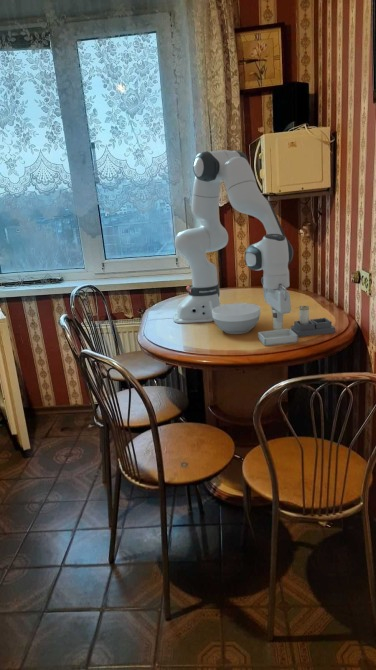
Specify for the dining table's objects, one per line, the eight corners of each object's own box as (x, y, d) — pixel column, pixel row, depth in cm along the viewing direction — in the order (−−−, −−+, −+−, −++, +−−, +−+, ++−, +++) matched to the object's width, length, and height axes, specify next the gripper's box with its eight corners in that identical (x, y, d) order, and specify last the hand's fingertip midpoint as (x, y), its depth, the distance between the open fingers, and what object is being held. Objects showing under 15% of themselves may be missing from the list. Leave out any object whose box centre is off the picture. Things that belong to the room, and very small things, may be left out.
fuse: (301, 329, 172) (301, 308, 170) (298, 326, 176) (297, 306, 173) (310, 328, 173) (310, 307, 170) (307, 325, 176) (307, 305, 174)
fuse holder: (298, 337, 171) (298, 326, 170) (291, 330, 178) (290, 320, 177) (335, 332, 172) (335, 322, 171) (326, 326, 180) (326, 316, 178)
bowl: (213, 325, 195) (211, 304, 192) (258, 321, 194) (257, 301, 191) (213, 339, 177) (212, 316, 174) (263, 335, 176) (263, 313, 173)
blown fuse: (274, 330, 166) (273, 308, 164) (272, 327, 169) (271, 305, 167) (283, 329, 166) (283, 307, 164) (281, 326, 169) (281, 305, 167)
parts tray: (264, 346, 164) (264, 339, 164) (258, 338, 173) (258, 332, 172) (298, 342, 165) (297, 335, 165) (289, 334, 174) (289, 328, 173)
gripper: (295, 286, 153) (296, 326, 157) (276, 276, 172) (277, 312, 177) (276, 288, 152) (277, 328, 157) (259, 277, 172) (261, 314, 176)
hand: (277, 319), depth 167 cm, fingers closed on blown fuse, 3 cm apart
